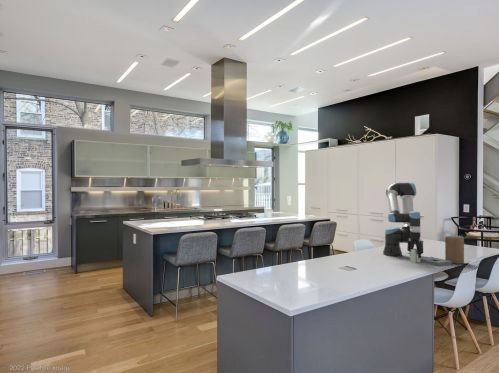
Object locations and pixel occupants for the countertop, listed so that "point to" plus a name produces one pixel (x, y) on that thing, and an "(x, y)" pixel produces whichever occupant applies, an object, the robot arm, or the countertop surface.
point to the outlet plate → (435, 261)
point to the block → (454, 249)
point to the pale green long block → (414, 255)
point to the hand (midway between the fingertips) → (415, 261)
